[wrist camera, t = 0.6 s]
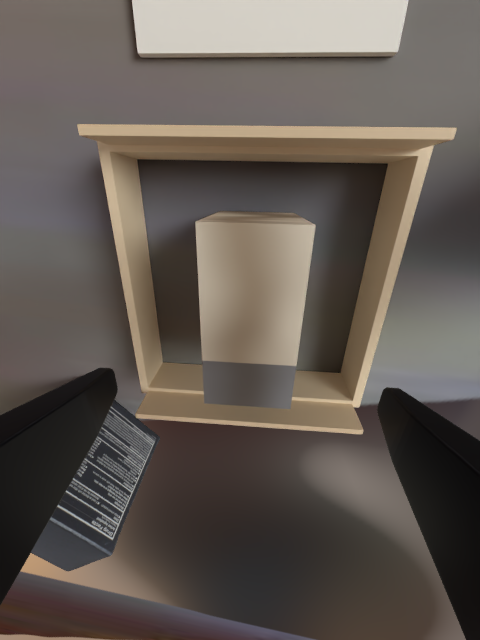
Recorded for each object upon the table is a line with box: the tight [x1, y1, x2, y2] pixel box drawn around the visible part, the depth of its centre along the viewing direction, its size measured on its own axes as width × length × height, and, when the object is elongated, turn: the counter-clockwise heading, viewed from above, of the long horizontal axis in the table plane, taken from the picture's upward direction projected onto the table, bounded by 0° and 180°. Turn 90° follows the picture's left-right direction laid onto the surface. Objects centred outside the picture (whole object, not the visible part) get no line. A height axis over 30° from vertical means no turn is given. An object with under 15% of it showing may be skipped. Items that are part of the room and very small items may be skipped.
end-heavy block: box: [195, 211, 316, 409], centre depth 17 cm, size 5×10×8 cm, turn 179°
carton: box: [77, 124, 457, 434], centre depth 18 cm, size 17×17×6 cm
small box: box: [31, 400, 160, 571], centre depth 23 cm, size 11×6×10 cm, turn 39°
